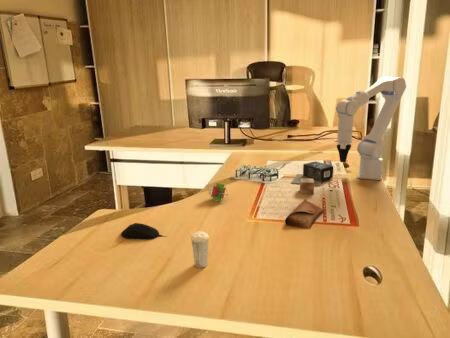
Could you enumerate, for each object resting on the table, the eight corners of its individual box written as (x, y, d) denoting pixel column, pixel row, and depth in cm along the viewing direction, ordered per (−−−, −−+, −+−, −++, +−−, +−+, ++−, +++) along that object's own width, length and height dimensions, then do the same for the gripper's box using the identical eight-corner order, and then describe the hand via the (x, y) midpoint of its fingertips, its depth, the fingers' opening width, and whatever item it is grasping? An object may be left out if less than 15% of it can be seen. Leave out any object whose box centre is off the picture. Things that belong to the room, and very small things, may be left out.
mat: (324, 177, 168) (324, 176, 168) (319, 186, 156) (319, 185, 156) (297, 174, 172) (297, 173, 172) (291, 183, 161) (291, 182, 161)
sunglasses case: (310, 230, 118) (300, 211, 118) (291, 236, 122) (282, 218, 121) (326, 209, 133) (317, 193, 133) (308, 216, 137) (300, 199, 136)
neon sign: (296, 159, 184) (273, 175, 159) (296, 167, 185) (272, 185, 160) (256, 154, 194) (229, 169, 169) (256, 162, 195) (229, 178, 170)
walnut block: (312, 190, 152) (312, 178, 151) (313, 194, 148) (314, 182, 146) (299, 190, 153) (300, 178, 152) (300, 194, 148) (301, 182, 147)
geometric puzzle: (222, 189, 149) (212, 176, 144) (234, 193, 145) (225, 180, 140) (212, 203, 147) (202, 191, 142) (224, 207, 142) (214, 195, 137)
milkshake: (189, 261, 101) (187, 227, 98) (209, 259, 102) (208, 226, 99) (189, 270, 97) (187, 235, 94) (210, 269, 97) (208, 233, 95)
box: (321, 168, 159) (302, 163, 168) (320, 181, 161) (302, 176, 169) (333, 165, 163) (315, 160, 172) (333, 178, 165) (314, 172, 173)
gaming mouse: (164, 242, 113) (163, 230, 112) (118, 239, 115) (116, 227, 114) (170, 233, 119) (170, 221, 118) (126, 230, 121) (125, 219, 120)
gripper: (336, 126, 163) (334, 156, 167) (333, 132, 150) (331, 165, 154) (353, 126, 160) (351, 157, 164) (352, 133, 147) (349, 167, 151)
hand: (342, 161), depth 159 cm, fingers closed
